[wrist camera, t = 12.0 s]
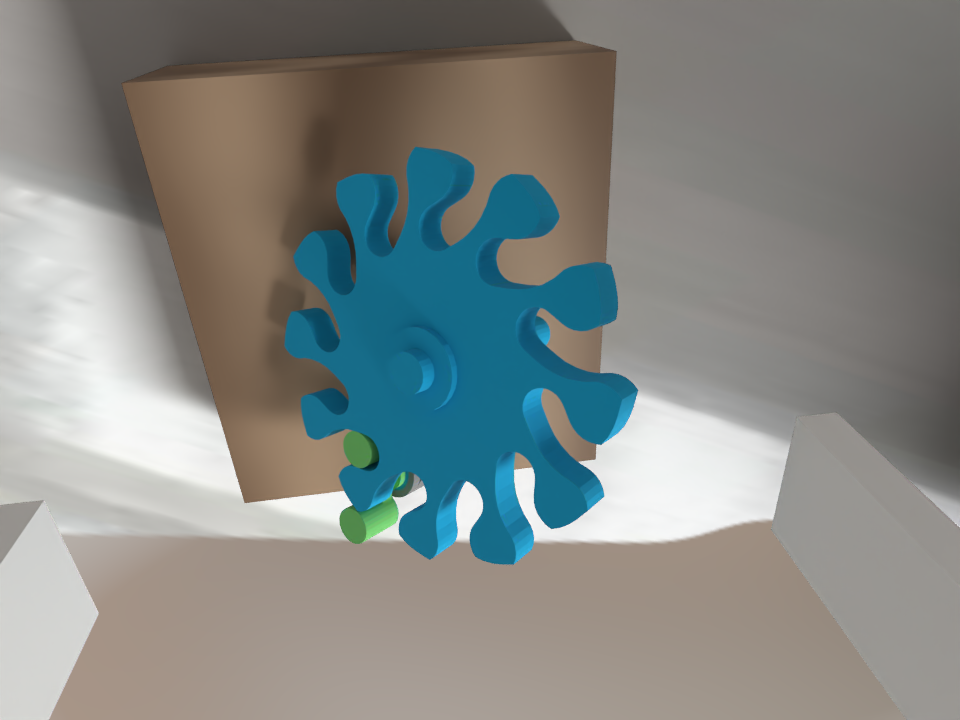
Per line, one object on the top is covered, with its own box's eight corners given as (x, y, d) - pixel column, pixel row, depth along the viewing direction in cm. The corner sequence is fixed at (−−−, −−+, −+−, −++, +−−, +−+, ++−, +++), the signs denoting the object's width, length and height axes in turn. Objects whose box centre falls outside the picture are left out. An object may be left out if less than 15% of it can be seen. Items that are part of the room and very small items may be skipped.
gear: (350, 55, 14) (719, 354, 11) (499, 91, 19) (790, 308, 16) (218, 409, 20) (437, 680, 17) (360, 370, 25) (552, 573, 21)
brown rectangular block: (575, 40, 20) (616, 50, 17) (566, 398, 27) (595, 459, 23) (168, 65, 19) (121, 83, 16) (262, 432, 25) (244, 502, 22)
